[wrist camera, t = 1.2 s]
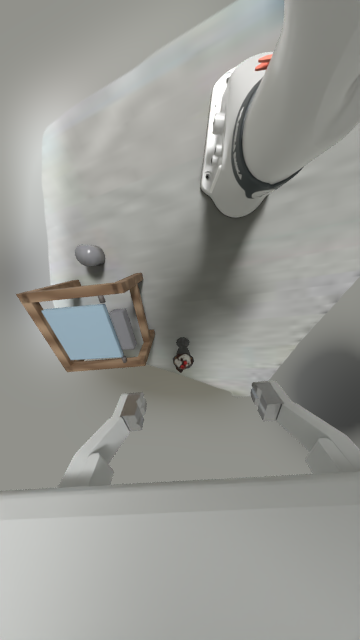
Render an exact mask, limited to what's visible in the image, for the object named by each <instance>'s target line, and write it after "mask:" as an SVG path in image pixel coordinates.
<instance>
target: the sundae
mask: <svg viewBox="0 0 360 640" xmlns="http://www.w3.org/2000/svg"><path fill="white" fill-rule="evenodd" d="M176 343H177V346H178V347H179V348H178V351H177V354H176V356H175V357H174V358H173V363H174V365H175V366H176V369H177V370H178V371H179V372H180V373H181V372H182V371H183V370H185V369H187V368H189V367H191V366H192V364H193V362H194V359H193V357H192V356H191V355H190V352H189V350H188V348H187V346H188V345H189V340H188V339H187V338H184V337H183V338H179V339H178V340H177V342H176Z"/></svg>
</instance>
